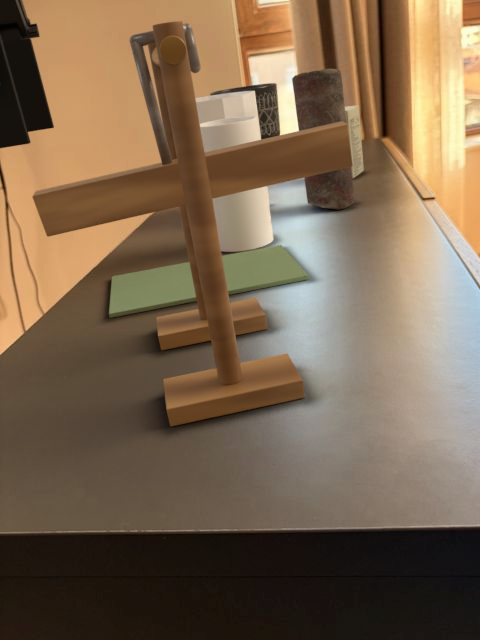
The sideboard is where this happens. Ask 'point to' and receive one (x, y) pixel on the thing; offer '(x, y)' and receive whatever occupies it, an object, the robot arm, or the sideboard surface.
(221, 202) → the cup
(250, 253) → the mat
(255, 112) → the container
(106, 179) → the hanger
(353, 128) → the cosmetic box
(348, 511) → the sideboard surface
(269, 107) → the planter
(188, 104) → the rail stand
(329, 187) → the candle
